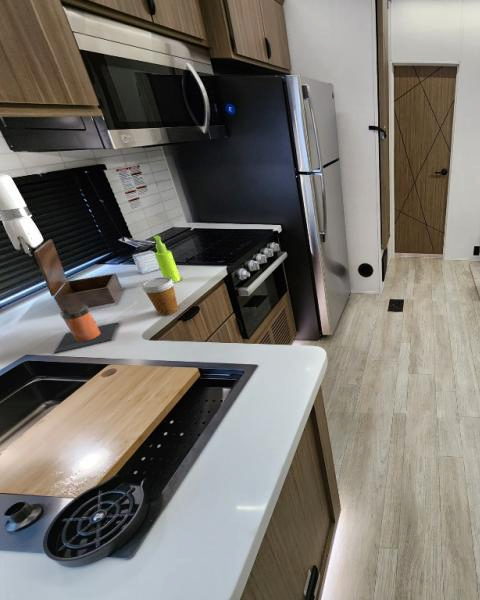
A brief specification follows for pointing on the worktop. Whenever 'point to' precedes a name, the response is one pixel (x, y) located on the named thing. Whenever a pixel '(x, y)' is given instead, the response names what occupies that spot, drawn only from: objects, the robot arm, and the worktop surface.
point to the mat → (71, 343)
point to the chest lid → (50, 267)
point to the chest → (89, 292)
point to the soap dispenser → (166, 261)
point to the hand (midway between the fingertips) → (43, 264)
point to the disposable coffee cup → (161, 294)
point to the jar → (80, 322)
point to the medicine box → (146, 261)
